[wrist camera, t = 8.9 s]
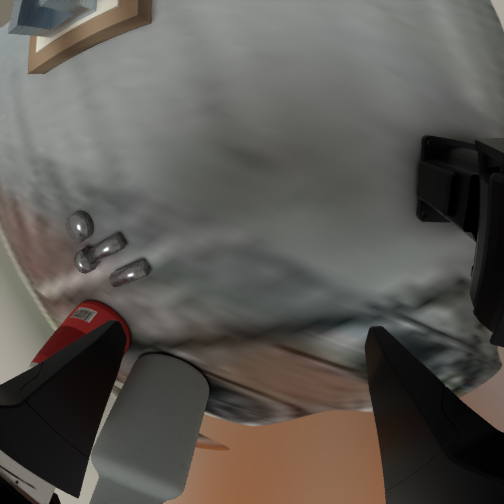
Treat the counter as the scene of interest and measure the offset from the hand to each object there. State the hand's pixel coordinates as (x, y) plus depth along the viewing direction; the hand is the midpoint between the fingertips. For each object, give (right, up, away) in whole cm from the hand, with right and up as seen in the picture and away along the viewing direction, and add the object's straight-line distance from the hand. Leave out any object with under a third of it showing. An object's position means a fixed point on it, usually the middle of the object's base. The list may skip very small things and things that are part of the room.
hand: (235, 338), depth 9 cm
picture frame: (-13, +25, +2) cm, 28 cm away
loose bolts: (-12, +3, +13) cm, 19 cm away
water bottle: (-9, -13, +21) cm, 26 cm away
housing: (-13, +24, 0) cm, 27 cm away
